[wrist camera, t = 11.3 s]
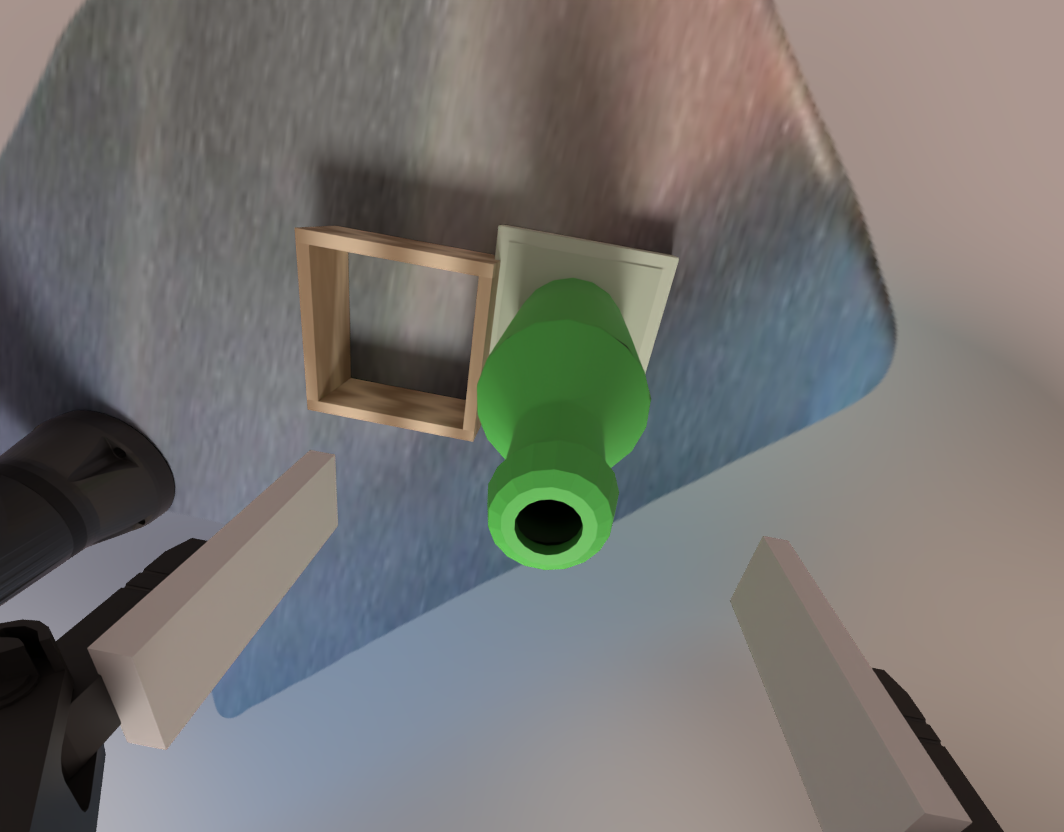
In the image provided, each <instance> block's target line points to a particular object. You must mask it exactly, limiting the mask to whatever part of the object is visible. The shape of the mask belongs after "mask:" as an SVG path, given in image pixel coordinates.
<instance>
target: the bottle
mask: <svg viewBox="0 0 1064 832" xmlns="http://www.w3.org/2000/svg"><path fill="white" fill-rule="evenodd" d="M650 402H651V396H650V392H649V389H648V385H647V380H646V376H645V371H644V369H643V367H642V364H641V362H640V359H639V356H638V354H637V351H636V349H635V346H634V343H633V341H632V338H631V335H630V333H629V330H628V328H627V326H626V323H625V321H624V319H623V316H622V314H621V312H620V309H619V308H618V306H617V305H616V304H615V302H614V301H613V299H612V298H611V296H610V295H609V293H607V292H606V291H604V290H603V289H601V288H600V287H599V286H597V285H596V284H594V283H593V282H589V281H585V280H581V279H577V278H567V279H559V280H553V281H551V282H549V283H547V284H545V285H543V286H542V287H540V288H538V289H536V290H535V291H534V292H533V293H532V295H531V296H530V297H529V298H528V299H527V300H526V301H525V302H524V303H523V305H522V306H521V308H520V309H519V311H518V312H517V314H516V315H515V317H514V318H513V320H512V321H511V323H510V324H509V326H508V327H507V329H506V330H505V332H504V333H503V335H502V336H501V338H500V339H499V341H498V342H497V344H496V346H495V347H494V349H493V350H492V352H491V353H490V355H489V356H488V358H487V360H486V363H485V365H484V368H483V370H482V373H481V376H480V378H479V381H478V383H477V414H478V417H479V419H480V422H481V424H482V427H483V429H484V432H485V434H486V437H487V439H488V440H489V441H490V443H491V444H492V445H493V446H494V447H495V448H496V449H497V451H498V452H499V453H500V454H501V455H502V456H503V457H504V459H505V461H504V462H502V463H501V464H500V465H499V466H498V467H497V469H496V471H495V473H494V475H493V477H492V478H491V480H490V482H489V484H488V503H487V504H488V527H489V530H490V532H491V535H492V537H493V540H494V542H495V544H496V545H497V546H498V547H499V548H500V549H501V550H502V551H503V552H504V553H505V554H506V555H507V556H508V557H510V558H511V559H513V560H515V561H517V562H519V563H521V564H523V565H524V566H529V567H534V568H538V569H543V570H552V569H566V568H569V567H572V566H574V565H578V564H580V563H583V562H585V561H586V560H588V559H589V558H590V557H592V556H593V555H594V554H596V553H597V552H598V551H600V549H601V548H602V546H603V544H604V543H605V542H606V540H607V539H608V537H609V536H610V532H611V527H612V523H613V519H614V515H615V510H616V505H617V500H618V495H619V490H618V486H617V482H616V477H615V473H614V472H613V470H612V469H611V467H613V466H614V465H615V464H616V463H618V462H619V461H620V460H621V459H623V458H624V457H625V456H626V455H627V454H629V453H630V452H631V451H632V450H633V448H634V446H635V445H636V443H637V441H638V440H639V438H640V437H641V435H642V433H643V432H644V430H645V428H646V425H647V419H648V413H649V407H650Z"/></svg>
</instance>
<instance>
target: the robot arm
mask: <svg viewBox="0 0 1064 832" xmlns="http://www.w3.org/2000/svg"><path fill="white" fill-rule="evenodd" d="M174 495H175V486H174V480H173V477H172V474H171V472H170V469H169V467H168V465H167V463H166V462H165V460H164V459H163V457H162V456H161V454H160V453H159V452H158V451H157V449H156V448H155V447H154V446H153V445H152V444H151V443H150V442H149V441H148V440H147V439H146V438H145V437H144V436H142V435H141V434H140V433H139V432H137V431H136V430H135V429H133V428H132V427H130V426H129V425H127V424H125V423H123V422H122V421H120V420H118V419H116V418H113V417H111V416H108V415H105V414H102V413H98V412H94V411H86V410H78V411H71V412H68V413H65V414H62V415H60V416H57V417H55V418H52V419H49V420H47V421H45V422H43V423H41V424H40V425H38V426H37V427H36V428H35V429H34V430H33V431H32V432H31V433H30V434H28V435H27V436H25V437H24V438H23V439H21V440H20V441H19V442H17V443H16V444H15V445H14V446H12V447H11V448H10V449H8V450H7V451H6V452H5V453H3V454H2V455H1V456H0V606H1V605H3V604H4V603H5V602H7V601H8V600H10V599H11V598H13V597H14V596H16V595H17V594H19V593H20V592H22V591H23V590H25V589H26V588H27V587H29V586H30V585H32V584H33V583H35V582H36V581H38V580H39V579H41V578H42V577H44V576H45V575H46V574H48V573H49V572H51V571H52V570H54V569H55V568H57V567H58V566H60V565H61V564H63V563H64V562H66V561H67V560H68V559H70V558H71V557H73V556H74V555H76V554H77V553H79V552H80V551H82V550H83V549H85V548H87V547H89V546H92V545H95V544H97V543H100V542H102V541H105V540H108V539H111V538H114V537H117V536H119V535H122V534H125V533H127V532H130V531H132V530H136V529H138V528H141V527H144V526H146V525H147V524H149V523H151V522H152V521H154V520H155V519H156V518H158V517H159V516H161V515H162V514H163V513H165V512H166V511H167V510H168V509H169V508H170V506H171V505H172V502H173V500H174ZM337 526H338V517H337V493H336V469H335V455H334V454H328V453H323V452H318V451H312V450H310V451H309V452H308V453H306V454H305V455H304V456H303V457H302V458H301V459H300V460H299V461H297V462H296V463H295V464H294V465H293V466H292V467H291V468H290V469H288V470H287V471H286V472H285V473H284V474H283V475H282V476H281V477H279V478H278V479H277V480H276V481H275V482H274V483H273V484H271V485H270V486H269V487H268V488H267V489H266V490H265V491H264V492H262V493H261V494H260V495H259V496H258V497H257V498H256V499H255V500H253V501H252V502H251V503H250V504H249V505H248V506H247V507H246V508H244V509H243V510H242V511H241V512H240V513H239V514H238V515H237V516H235V517H234V518H233V519H232V520H231V521H230V522H229V523H228V524H226V525H225V526H224V527H223V528H222V529H221V530H220V531H219V532H217V533H216V534H215V535H214V536H213V537H212V538H211V539H210V540H208V541H205V540H200V539H195V538H191V539H189V540H187V541H185V542H183V543H181V544H179V545H177V546H175V547H173V548H171V549H169V550H167V551H165V552H164V553H163V554H162V555H160V556H159V557H158V558H157V559H156V560H154V561H153V562H152V563H151V564H149V565H148V566H147V567H146V568H145V569H144V571H143V572H142V573H139V574H137V575H136V576H135V577H134V578H132V579H131V580H130V581H129V582H128V583H126V586H125V587H124V588H120V589H119V590H118V591H117V592H115V593H114V594H113V595H112V596H111V597H109V598H108V599H107V600H106V601H105V602H103V603H102V604H101V605H100V606H98V607H97V608H96V609H95V610H93V611H92V612H91V613H90V614H89V615H87V616H86V617H85V618H84V619H82V620H81V621H80V622H79V623H78V624H76V625H75V626H74V627H73V628H72V629H70V630H69V631H68V632H67V633H65V634H64V635H63V636H62V637H61V638H59V639H58V640H57V641H55V639H54V637H53V635H52V633H51V631H50V629H49V627H48V626H46V625H45V624H43V623H42V622H40V621H35V620H17V621H11V622H5V623H0V832H96V827H97V818H98V811H99V803H100V795H101V787H102V779H103V771H104V763H105V755H106V754H105V748H104V742H105V741H106V740H107V739H108V738H109V737H110V736H111V735H112V733H113V732H114V731H115V730H116V729H117V728H118V727H119V726H120V725H121V728H122V730H123V733H124V735H125V737H126V740H127V742H129V743H134V744H139V745H144V746H149V747H154V748H159V749H164V750H167V749H168V747H169V746H170V744H171V743H172V742H173V741H174V739H175V738H176V737H177V735H178V734H179V733H180V731H181V730H182V729H183V728H184V726H185V725H186V724H187V722H188V721H189V720H190V718H191V717H192V716H193V715H194V713H195V712H196V711H197V709H198V708H199V707H200V705H201V704H202V703H203V701H204V700H205V699H206V697H207V696H208V695H209V694H210V692H211V691H212V690H213V688H214V687H215V686H216V684H217V683H218V682H219V680H220V679H221V678H222V677H223V675H224V674H225V673H226V671H227V670H228V669H229V667H230V666H231V665H232V663H233V662H234V661H235V660H236V658H237V657H238V656H239V654H240V653H241V652H242V650H243V649H244V648H245V646H246V645H247V644H248V643H249V641H250V640H251V639H252V637H253V636H254V635H255V633H256V632H257V631H258V629H259V628H260V627H261V626H262V624H263V623H264V622H265V620H266V619H267V618H268V616H269V615H270V614H271V612H272V611H273V610H274V608H275V607H276V606H277V605H278V603H279V602H280V601H281V599H282V598H283V597H284V595H285V594H286V593H287V591H288V590H289V589H290V588H291V586H292V585H293V584H294V582H295V581H296V580H297V578H298V577H299V576H300V574H301V573H302V572H303V571H304V569H305V568H306V567H307V565H308V564H309V563H310V561H311V560H312V559H313V557H314V556H315V555H316V554H317V552H318V551H319V550H320V548H321V547H322V546H323V544H324V543H325V542H326V540H327V539H328V538H329V537H330V535H331V534H332V533H333V531H334V530H335V529H336V527H337ZM730 602H731V604H732V607H733V609H734V612H735V614H736V617H737V619H738V622H739V624H740V627H741V629H742V632H743V634H744V637H745V639H746V641H747V644H748V647H749V649H750V652H751V654H752V657H753V659H754V662H755V664H756V667H757V669H758V672H759V674H760V677H761V679H762V682H763V684H764V687H765V689H766V692H767V694H768V697H769V699H770V702H771V704H772V706H773V709H774V712H775V714H776V717H777V719H778V721H779V724H780V727H781V729H782V731H783V734H784V737H785V739H786V741H787V744H788V746H789V749H790V751H791V754H792V756H793V759H794V761H795V764H796V766H797V769H798V771H799V774H800V776H801V779H802V781H803V784H804V786H805V789H806V791H807V794H808V796H809V799H810V801H811V804H812V806H813V809H814V811H815V814H816V816H817V819H818V821H819V824H820V826H821V829H822V831H823V832H1004V831H1003V830H1002V829H1001V827H1000V825H999V824H998V823H997V821H996V820H995V818H994V817H993V815H992V814H991V813H990V811H989V810H988V809H987V807H986V805H985V804H984V802H983V801H982V800H981V798H980V797H979V795H978V794H977V792H976V791H975V789H974V788H973V787H972V785H971V784H970V782H969V781H968V779H967V778H966V777H965V775H964V774H963V772H962V771H961V770H960V768H959V766H958V765H957V764H956V762H955V761H954V759H953V758H952V756H951V755H950V754H949V752H948V751H947V749H946V748H945V747H943V746H942V745H941V743H940V742H941V741H940V739H939V738H938V736H937V735H936V733H935V732H934V731H933V729H932V728H931V726H930V725H928V724H926V722H925V718H924V716H923V715H922V713H921V712H920V710H919V709H918V707H917V706H916V705H915V703H914V702H913V700H912V699H911V697H910V696H909V695H908V693H907V692H906V691H905V690H904V689H902V687H901V686H900V685H898V684H897V682H896V681H894V679H893V678H891V677H890V676H889V675H888V674H887V673H886V672H885V671H884V670H881V669H876V668H871V666H870V665H869V663H868V662H867V660H866V659H865V657H864V656H863V654H862V653H861V651H860V650H859V648H858V647H857V645H856V643H855V642H854V641H853V639H852V637H851V636H850V634H849V633H848V631H847V630H846V628H845V627H844V625H843V624H842V622H841V621H840V619H839V617H838V616H837V614H836V613H835V611H834V610H833V608H832V607H831V605H830V604H829V602H828V601H827V599H826V598H825V596H824V595H823V593H822V591H821V590H820V589H819V587H818V585H817V584H816V582H815V581H814V579H813V578H812V577H811V575H810V573H809V572H808V570H807V569H806V567H805V566H804V564H803V562H802V561H801V560H800V558H799V556H798V555H797V553H796V552H795V550H794V549H793V547H792V546H791V544H790V543H789V541H787V540H782V539H776V538H771V537H766V536H763V537H762V539H761V541H760V543H759V545H758V547H757V549H756V551H755V553H754V554H753V557H752V558H751V560H750V562H749V564H748V566H747V568H746V570H745V572H744V574H743V576H742V578H741V580H740V582H739V584H738V586H737V588H736V590H735V592H734V594H733V596H732V598H731V600H730Z"/></svg>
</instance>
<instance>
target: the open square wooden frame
mask: <svg viewBox="0 0 1064 832" xmlns="http://www.w3.org/2000/svg"><path fill="white" fill-rule="evenodd" d="M295 239H296V253H297V266H298V280H299V294H300V308H301V322H302V336H303V350H304V364H305V378H306V391H307V405H308V410H313V411H318V412H324V413H329V414H334V415H339V416H344V417H349V418H354V419H359V420H365V421H370V422H375V423H380V424H385V425H390V426H395V427H401V428H406V429H411V430H416V431H421V432H426V433H431V434H436V435H442V436H447V437H452V438H457V439H462V440H467V441H472V442H473V441H474V439H475V436H476V434H477V432H478V430H479V428H480V426H481V422H480V419H479V417H478V414H477V383H478V381H479V378H480V376H481V373H482V370H483V368H484V365H485V363H486V360H487V358H488V356H489V352H490V344H491V336H492V327H493V319H494V311H495V303H496V295H497V287H498V279H499V271H500V263H501V260H495V255H492V254H487V253H481V252H476V251H471V250H465V249H460V248H454V247H449V246H443V245H438V244H433V243H427V242H422V241H416V240H411V239H405V238H400V237H395V236H389V235H384V234H378V233H373V232H367V231H362V230H356V229H351V228H346V227H340V226H321V227H300V228H295ZM348 252H352V253H357V254H362V255H368V256H373V257H379V258H384V259H389V260H395V261H400V262H406V263H411V264H416V265H422V266H427V267H433V268H438V269H443V270H449V271H454V272H460V273H465V274H470V275H476V276H479V281H478V290H477V300H476V309H475V319H474V329H473V338H472V348H471V357H470V367H469V376H468V386H467V396H466V400H462V399H457V398H452V397H447V396H442V395H437V394H431V393H426V392H421V391H416V390H411V389H405V388H400V387H395V386H390V385H385V384H379V383H374V382H369V381H364V380H359V379H353V378H351V357H350V313H349V269H348Z"/></svg>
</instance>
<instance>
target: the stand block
mask: <svg viewBox="0 0 1064 832" xmlns="http://www.w3.org/2000/svg"><path fill="white" fill-rule="evenodd" d="M495 260H501V263H500V271H499V279H498V287H497V295H496V303H495V311H494V319H493V327H492V336H491V344H490V352H489V355H490V353H491V352H492V350H493V349H494V347H495V346H496V344H497V342H498V341H499V339H500V338H501V336H502V335H503V333H504V332H505V330H506V329H507V327H508V326H509V324H510V323H511V321H512V320H513V318H514V317H515V315H516V314H517V312H518V311H519V309H520V308H521V306H522V305H523V303H524V302H525V301H526V300H527V299H528V298H529V297H530V296H531V295H532V293H533V292H534V291H535V290H536V289H538V288H540V287H542V286H543V285H545V284H547V283H549V282H551V281H553V280H559V279H567V278H577V279H581V280H585V281H589V282H593V283H594V284H596V285H597V286H599V287H600V288H601V289H603V290H604V291H606V292H607V293H609V295H610V296H611V298H612V299H613V301H614V302H615V304H616V305H617V306H618V308H619V309H620V312H621V314H622V316H623V319H624V321H625V323H626V326H627V328H628V330H629V333H630V335H631V338H632V341H633V343H634V346H635V349H636V351H637V354H638V356H639V359H640V362H641V364H642V367H643V369H644V371H645V373H646V369H647V366H648V362H649V359H650V356H651V352H652V349H653V345H654V342H655V339H656V335H657V332H658V329H659V325H660V322H661V318H662V315H663V312H664V308H665V305H666V301H667V298H668V295H669V291H670V288H671V284H672V281H673V278H674V274H675V271H676V267H677V264H678V261H679V258H677V257H675V256H673V255H669V254H664V253H658V252H653V251H647V250H642V249H636V248H631V247H625V246H620V245H614V244H609V243H603V242H598V241H592V240H587V239H581V238H576V237H570V236H565V235H559V234H554V233H548V232H543V231H537V230H532V229H527V228H521V227H516V226H510V225H499V226H498V235H497V243H496V252H495Z"/></svg>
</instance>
